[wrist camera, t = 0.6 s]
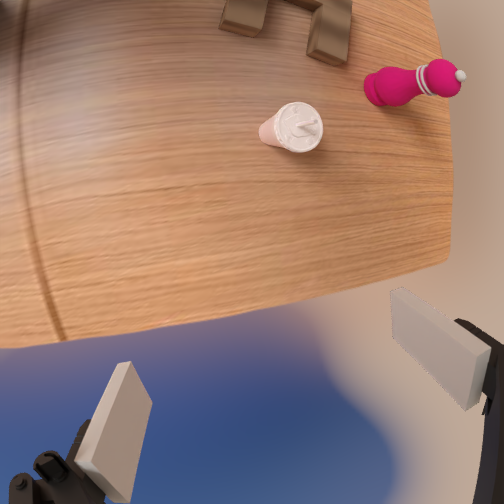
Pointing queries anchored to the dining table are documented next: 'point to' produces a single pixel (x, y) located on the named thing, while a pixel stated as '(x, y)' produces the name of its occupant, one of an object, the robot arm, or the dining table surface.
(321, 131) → the smoothie
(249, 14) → the notched board
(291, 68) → the dining table surface
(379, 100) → the pepper mill
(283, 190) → the dining table surface
